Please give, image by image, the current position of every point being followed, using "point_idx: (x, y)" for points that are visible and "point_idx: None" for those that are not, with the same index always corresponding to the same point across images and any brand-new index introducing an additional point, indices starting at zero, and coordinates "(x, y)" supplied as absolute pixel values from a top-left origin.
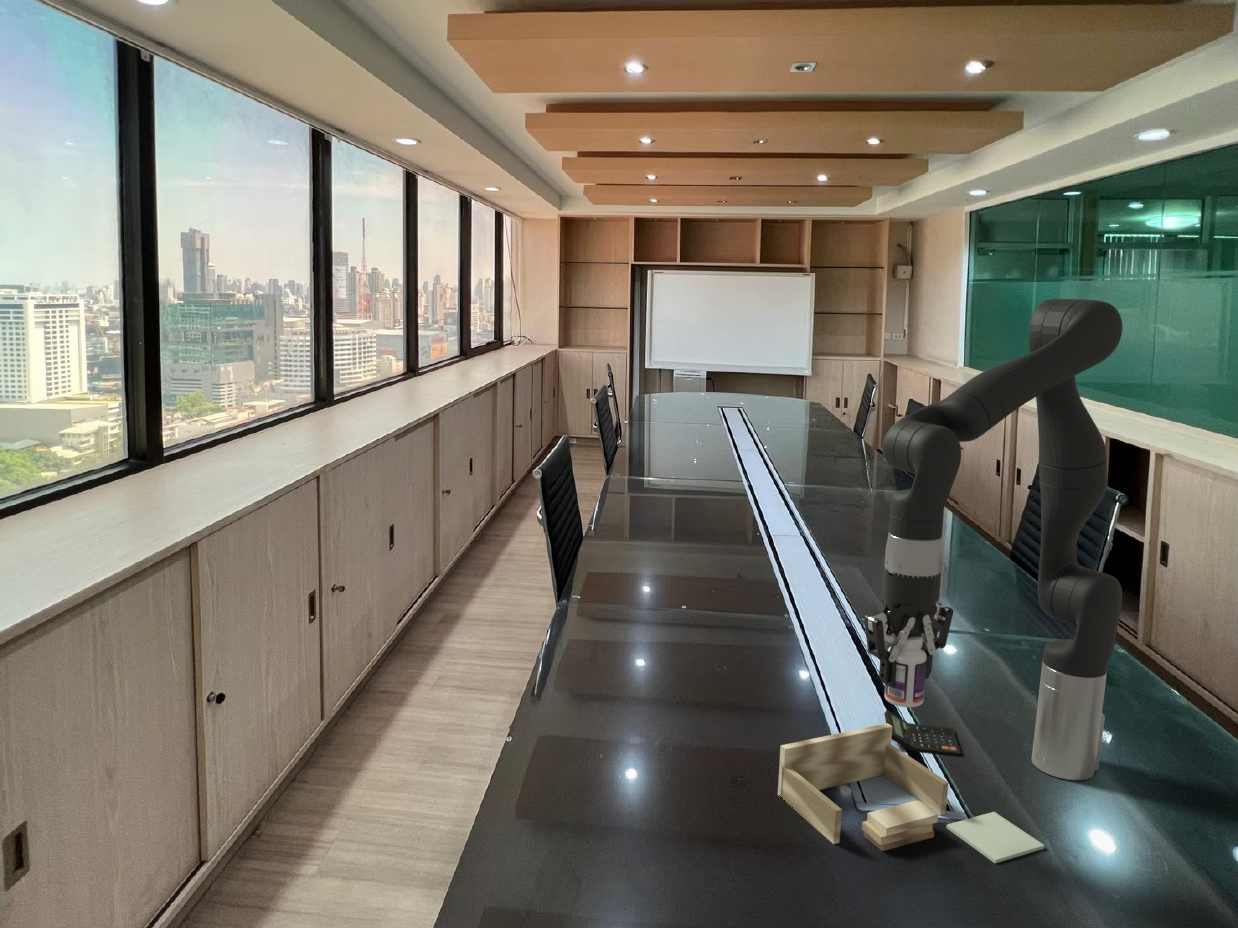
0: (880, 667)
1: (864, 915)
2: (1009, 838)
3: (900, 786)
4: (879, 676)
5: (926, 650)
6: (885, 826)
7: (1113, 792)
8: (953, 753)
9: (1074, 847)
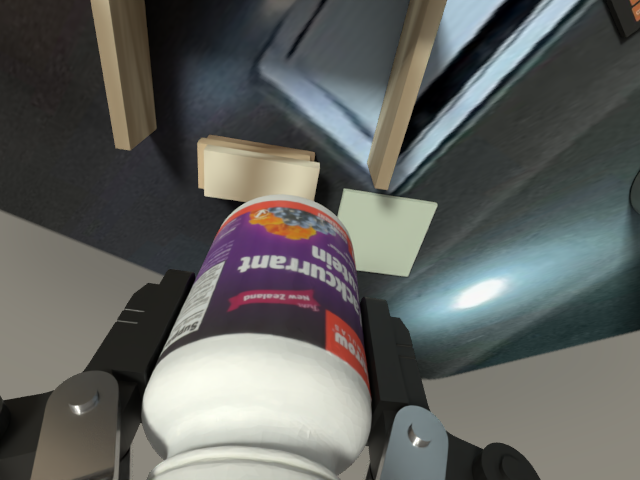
0: (110, 335)
1: (103, 248)
2: (386, 250)
3: (395, 55)
4: (133, 296)
5: (370, 465)
6: (206, 192)
7: (628, 251)
8: (618, 24)
9: (438, 287)
